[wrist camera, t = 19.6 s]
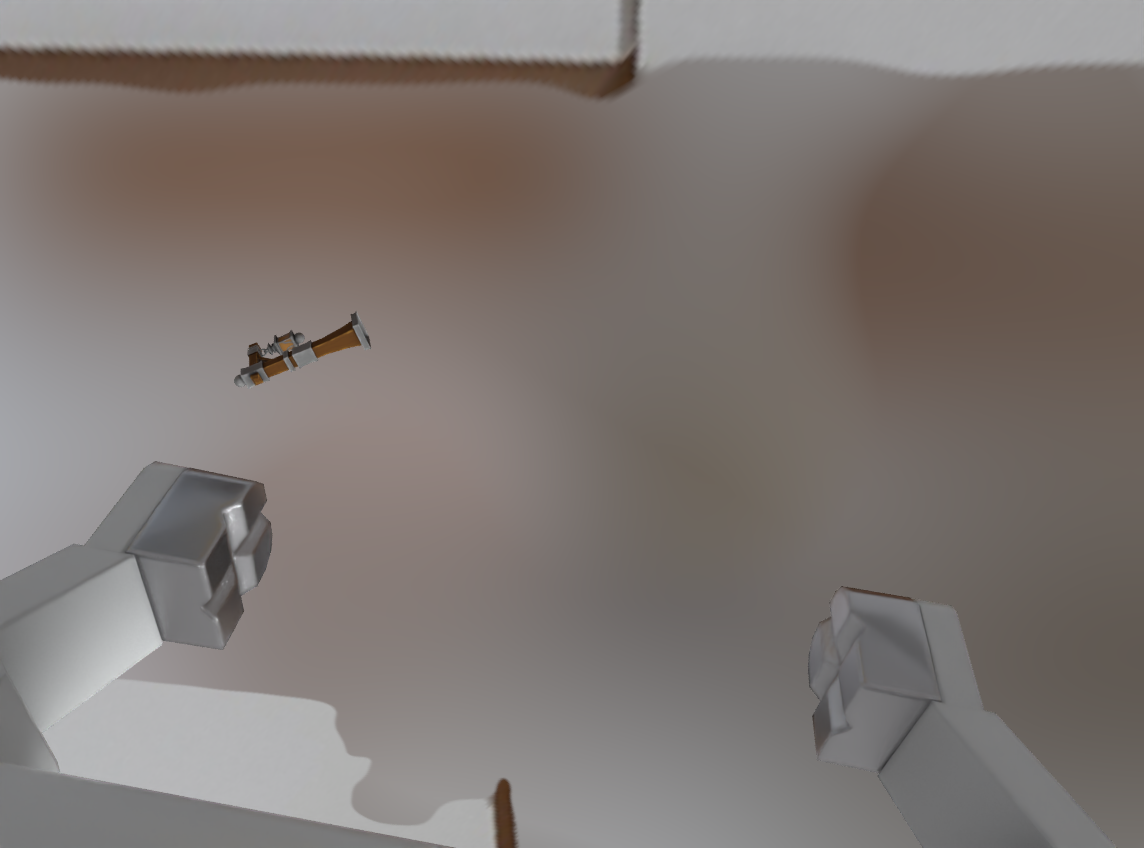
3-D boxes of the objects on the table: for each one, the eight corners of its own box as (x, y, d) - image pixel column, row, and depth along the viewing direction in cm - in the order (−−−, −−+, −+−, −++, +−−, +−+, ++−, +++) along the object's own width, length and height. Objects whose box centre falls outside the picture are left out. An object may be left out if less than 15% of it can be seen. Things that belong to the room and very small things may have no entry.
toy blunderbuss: (230, 342, 52) (226, 377, 48) (353, 294, 52) (358, 325, 49) (245, 366, 53) (242, 402, 49) (366, 318, 53) (371, 350, 50)
